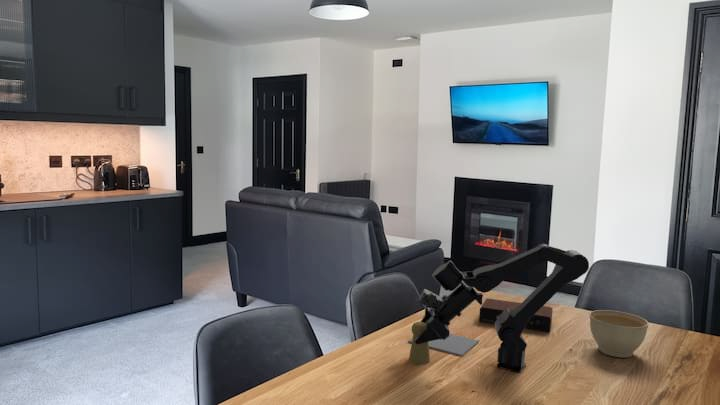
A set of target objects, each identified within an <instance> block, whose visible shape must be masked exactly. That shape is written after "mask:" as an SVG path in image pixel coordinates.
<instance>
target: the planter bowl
mask: <svg viewBox="0 0 720 405" xmlns="http://www.w3.org/2000/svg"><path fill="white" fill-rule="evenodd" d="M589 328H590V332H591V334H592V337H593V339H594V341H595V343H596V345H597V348H598V351H600V352H601V353H602V354H605V355H607V356H611V357H614V358H615V357H616V358H631V357H632V356H633V355H634V353H635V351H637V349H639V348H640V346H641V345H642V344H643V343H644V340H645V339H646V336H647V331H648V328H649V321H647V320H646V319H645V318H643V317H641V316H638V315H636V314H632V313H628V312H623V311H618V310H611V309H610V310H608V309H607V310H606V309H605V310H604V309H598V310H592V311H591V312H589Z"/></svg>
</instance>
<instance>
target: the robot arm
mask: <svg viewBox="0 0 720 405" xmlns="http://www.w3.org/2000/svg"><path fill="white" fill-rule="evenodd" d="M544 262H549V263H552V264H555V265H554V267H553V270H552V272H550V274H549V275H548V276H547V277H546V278H545V279H544V280H543V281H542V282H541V283H540V284H539V285H538V286H537V287H536V288H535V289H533V291H532V292H531V293H530V294H529V295H528V296H527V297H526V298H524V300H523V301H522V302H520V303H521V304H520V305H519V306H518V307H517V308H516V309H513V310H511V311H509V310H508V309H507V308H505V309H504V311H503V312H502V314H500V315H499V316H497V317H496V318H497V320H496V322H495V324H494V329H495V332H496V334H497V336H498V339H499V340H500V341H501V343H500V345H499V346H500V347H498V348H497V359H496V360H497V364H496V367H497V368H501V369H505V370H509V371H512V372H516V373H521V372H522V371H523V369H525V367H526V365H527V363H526V362H525V357H526V348H527V346H528V344H527V342H526V340H525V339H524V337H523V335H522V334H523V333H524V331H525V330H526V329H525V326H526V324H527V322H528V320H529V319H530V318H531V317H532V316H533V315H534V314H535V313H536V312H537V311H538V310H539V309H540V308H541V307H542V306H546V305H545V304H546V303H548V302H549V301H550V300H551V299H552V298H553V296H555V295H556V294H557V293H558V292H559V291H560V290H561V289H562V288H563V287H564V286H565V285H567V284H569V283H572V282H573V281H574V282H575V281H576V280H578V279H579V278H581V276H584V275H585V274H586V273H587V272H588V271H589V268H590V266H589V265H590V263H589V260H588V258H587V257H586V256H584V255H583V254H581V253H580V252H578V251H577V250H573V249H569V250H564V249H562V248H561V249H560V248H557V247H554V246H550V245H548V244H546V243H541V244H540V243H539V245H537V246H535V247H533V248H532V249H529V250H527V251H524V252H523V253H520V254H518V255H516V256H514V257H510V258H508V259H507V260H504V261H502V262H501V263H496V264H489V265H484V266H481V267H477V268H476V269H474V270H472V271H460V270H459V269H458V267H456V265H455V263H454V262H453V261H452V260H448V261H446V262H445V263H444V264H441V265H440V266H439V267H437V269H435V270H434V272H433V273H432V275H431V276H432V277H433V279H434V280H435V281H436V282H437V283H438V284H439V286H441V287H442V288H443V290H445V291H449V292H450V294H448V295H447V294H444V295H443V296H439V295H438V294H436V293H434V292H432V291H430V290H428V289H426V288H423V290H422V292H421V294H420V296H419V298H418V299H419V303H420V304H422V305H425V306H424V316H423V317H422V318H421V320H420V321H419V322H425V323H427V324H426V328H425V329H424V331H423V332H422V333H421V334H420V335H419V336H418V338H417V339H416V340H415V343H416V344H421V343H425V342H429V341H433V340H438V339H440V340H441V339H443V340H445V339H446V338H448V337H449V334H450V332H451V331H450V327H449V326H450V325H451V322H452V321H453V319H455V318H456V317H458V318H459V317H461V315H462V312H463V311H464V310H465V309H466V308H467V307H468V306H470V305H471V304H473V302H475V301H476V302H477V303H478V304H479V305H481V306H482V305H483V298H484V295H483V293H484V294H486V293H489V292H490V291H492V290H494V289H496V288H497V287H498V286H500V284H502V282H504V281H505V280H506V279H508V278H510V277H513V276H514V275H516V274H519V273H521V272H524V271H526V270H528V269H531V268H532V267H535V266H537V265H539V264H541V263H544Z"/></svg>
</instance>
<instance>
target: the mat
mask: <svg viewBox="0 0 720 405" xmlns="http://www.w3.org/2000/svg"><path fill="white" fill-rule="evenodd" d="M412 339H413V337H412V338H410V339H408V340H407V343H408V342H409V344H412ZM478 343H480V340H478V339H475V338H469V337H466V336H462V335H457V334H453V333H449V337H448V338H446V339H445V340H443V339H441V340H440V339H438V340H433V341H429V342H428V345H429V349H431V348H432V349H433V350H435V349H436V351H439V352H444V353H447V354H451V355H454V356H459V357H463V356H464V355H466V354H467V353H468V352H469V351H470V350H472V349H473V348H474V347H475V346H476V345H477V344H478Z"/></svg>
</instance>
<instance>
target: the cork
mask: <svg viewBox="0 0 720 405" xmlns="http://www.w3.org/2000/svg"><path fill="white" fill-rule="evenodd" d="M426 324H427V323H425V322H420V321H415V322H413V324H412V325H411V333H412V338H413V339H412V338H411V339H412V343H411V346H410V351H409V352H410V353H409V356H408V362H410V363H411V362H412V363H411V364H414V363H415V365H419V364H420V365H422V364H424V365H427V364H430V362H431V357H430V348H429V345H428V342H425V343H421V344H416V343H415V340H416V339H417V338H418V336H419V335H420V334H421V333H422V332H423V331H424V329H425V328H426Z"/></svg>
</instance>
